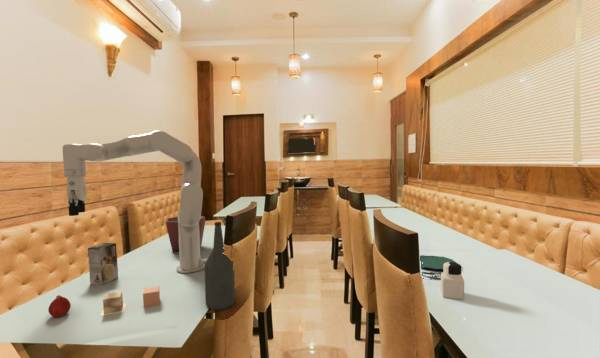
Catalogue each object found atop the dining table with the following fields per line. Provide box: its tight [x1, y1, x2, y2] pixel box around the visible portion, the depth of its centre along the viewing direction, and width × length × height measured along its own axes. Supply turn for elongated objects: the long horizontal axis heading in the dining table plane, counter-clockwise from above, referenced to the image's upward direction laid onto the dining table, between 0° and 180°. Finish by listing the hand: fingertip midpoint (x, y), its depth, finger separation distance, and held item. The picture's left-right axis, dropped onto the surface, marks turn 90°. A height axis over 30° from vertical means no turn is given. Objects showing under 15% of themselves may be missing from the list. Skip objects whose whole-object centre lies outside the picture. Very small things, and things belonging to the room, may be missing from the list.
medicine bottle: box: [440, 262, 465, 300], centre depth 116 cm, size 7×7×12 cm
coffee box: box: [87, 242, 119, 286], centre depth 137 cm, size 9×6×16 cm
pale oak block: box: [102, 291, 124, 314], centre depth 107 cm, size 5×5×5 cm
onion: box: [48, 294, 72, 318], centre depth 104 cm, size 6×6×8 cm
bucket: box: [165, 215, 206, 254], centre depth 186 cm, size 24×22×25 cm
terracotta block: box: [142, 285, 161, 308], centre depth 112 cm, size 5×5×6 cm
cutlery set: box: [419, 254, 457, 280], centre depth 145 cm, size 20×30×2 cm, turn 161°
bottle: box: [203, 221, 236, 311], centre depth 112 cm, size 10×10×30 cm
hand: (77, 213), depth 132 cm, fingers open, 9 cm apart
